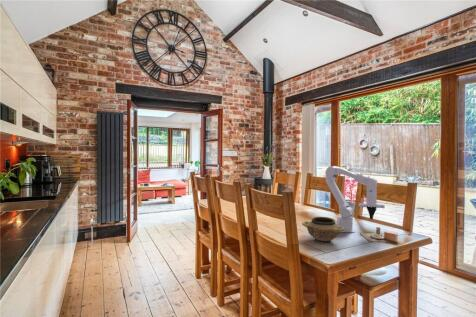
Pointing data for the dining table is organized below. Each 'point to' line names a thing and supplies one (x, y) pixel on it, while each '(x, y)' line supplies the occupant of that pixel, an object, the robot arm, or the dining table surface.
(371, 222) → the dining table surface
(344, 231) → the robot arm
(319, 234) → the ceramic bowl
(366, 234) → the board
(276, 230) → the dining table surface
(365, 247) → the dining table surface
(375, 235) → the pink irregular piece
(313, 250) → the dining table surface
